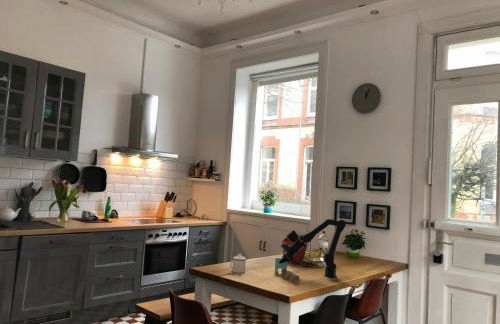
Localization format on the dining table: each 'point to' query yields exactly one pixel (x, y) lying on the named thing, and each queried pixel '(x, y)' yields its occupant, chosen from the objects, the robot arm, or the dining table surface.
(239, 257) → the teacup with lid
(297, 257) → the plant pot
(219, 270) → the dining table surface
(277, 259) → the teal notched plate
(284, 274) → the walnut rail
